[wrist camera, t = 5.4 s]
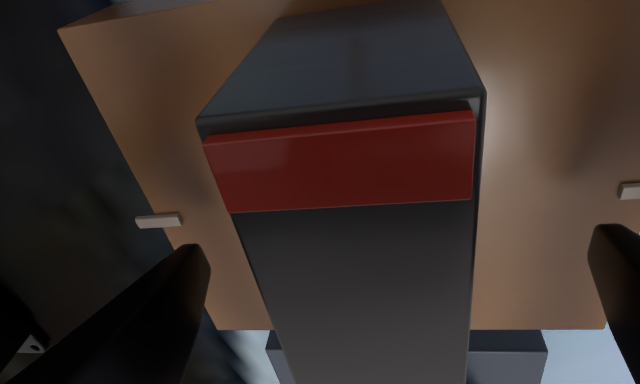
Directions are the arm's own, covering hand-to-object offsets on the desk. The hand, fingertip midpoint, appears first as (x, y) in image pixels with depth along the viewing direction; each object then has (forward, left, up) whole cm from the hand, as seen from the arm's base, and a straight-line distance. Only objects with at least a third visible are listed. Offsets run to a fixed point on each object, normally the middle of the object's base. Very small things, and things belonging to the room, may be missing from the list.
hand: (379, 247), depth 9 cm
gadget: (0, 0, -2) cm, 2 cm away
